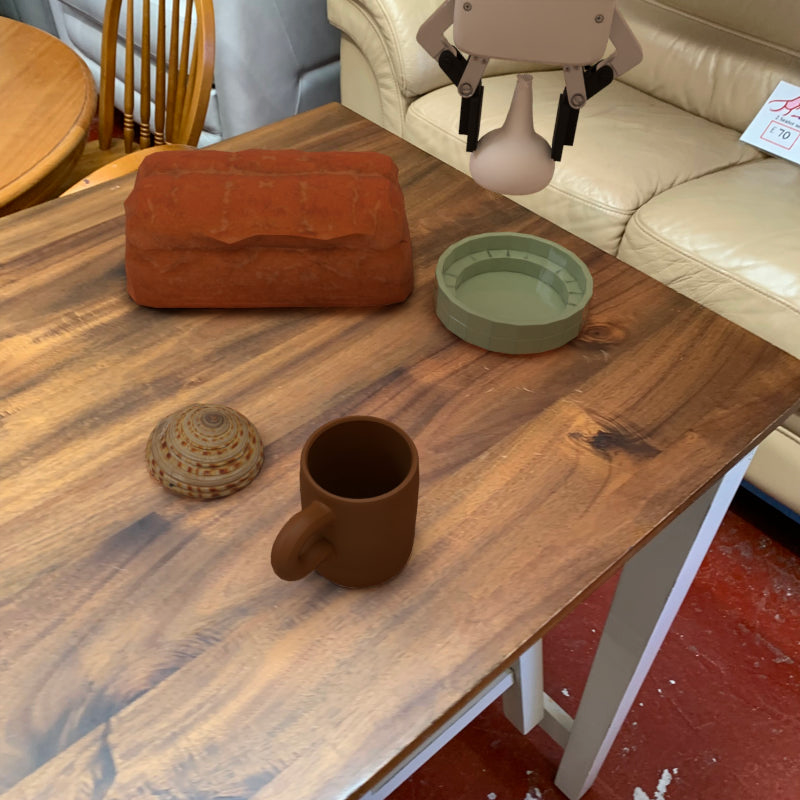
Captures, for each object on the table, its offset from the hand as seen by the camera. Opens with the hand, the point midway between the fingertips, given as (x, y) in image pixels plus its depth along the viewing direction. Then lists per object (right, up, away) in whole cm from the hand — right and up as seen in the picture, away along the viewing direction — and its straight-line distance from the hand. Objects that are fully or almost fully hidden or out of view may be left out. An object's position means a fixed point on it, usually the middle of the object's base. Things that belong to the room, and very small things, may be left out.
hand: (514, 146), depth 60 cm
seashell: (-23, -23, +3) cm, 33 cm away
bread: (-21, -6, +21) cm, 30 cm away
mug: (-12, -30, -4) cm, 33 cm away
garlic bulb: (0, -2, +2) cm, 3 cm away
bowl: (+2, -10, +17) cm, 20 cm away
